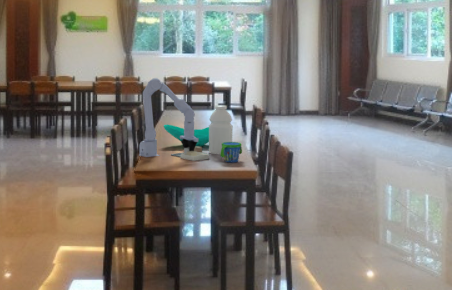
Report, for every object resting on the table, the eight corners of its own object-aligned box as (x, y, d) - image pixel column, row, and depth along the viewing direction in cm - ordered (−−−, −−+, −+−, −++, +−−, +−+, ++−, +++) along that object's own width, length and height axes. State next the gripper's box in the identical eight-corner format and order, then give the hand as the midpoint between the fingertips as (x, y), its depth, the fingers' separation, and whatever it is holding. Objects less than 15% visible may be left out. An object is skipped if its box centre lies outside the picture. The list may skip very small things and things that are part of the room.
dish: (193, 161, 355) (193, 156, 354) (180, 159, 363) (180, 153, 363) (209, 159, 362) (209, 154, 362) (196, 156, 370) (196, 151, 370)
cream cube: (191, 159, 358) (191, 152, 358) (186, 158, 361) (186, 151, 361) (196, 158, 361) (196, 151, 360) (192, 157, 364) (192, 150, 363)
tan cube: (196, 154, 375) (196, 147, 375) (192, 153, 378) (192, 146, 378) (201, 153, 378) (202, 147, 377) (197, 153, 381) (197, 146, 380)
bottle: (233, 155, 378) (233, 107, 374) (209, 155, 377) (209, 106, 373) (231, 151, 392) (231, 104, 388) (208, 151, 391) (208, 104, 387)
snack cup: (227, 164, 347) (227, 145, 346) (214, 161, 355) (214, 143, 354) (248, 161, 358) (248, 143, 356) (234, 158, 366) (235, 140, 364)
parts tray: (181, 158, 365) (181, 156, 364) (170, 156, 372) (170, 154, 372) (206, 155, 377) (206, 153, 376) (195, 153, 384) (195, 151, 384)
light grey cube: (188, 155, 371) (188, 148, 371) (184, 154, 374) (184, 147, 374) (193, 154, 374) (193, 148, 374) (189, 154, 377) (189, 147, 376)
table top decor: (164, 149, 395) (164, 128, 393) (162, 143, 422) (162, 122, 420) (229, 149, 400) (229, 127, 398) (223, 142, 427) (224, 122, 425)
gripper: (202, 130, 369) (202, 153, 371) (186, 127, 380) (186, 150, 382) (192, 131, 365) (192, 155, 367) (177, 128, 375) (177, 151, 377)
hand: (189, 152), depth 374 cm, fingers closed on light grey cube, 4 cm apart
